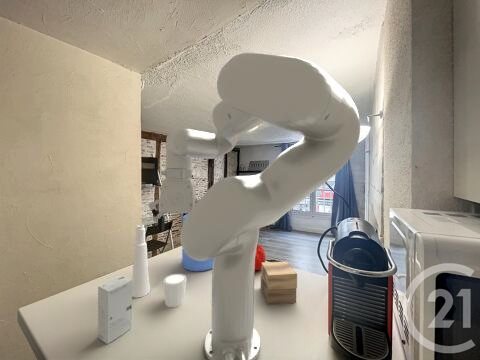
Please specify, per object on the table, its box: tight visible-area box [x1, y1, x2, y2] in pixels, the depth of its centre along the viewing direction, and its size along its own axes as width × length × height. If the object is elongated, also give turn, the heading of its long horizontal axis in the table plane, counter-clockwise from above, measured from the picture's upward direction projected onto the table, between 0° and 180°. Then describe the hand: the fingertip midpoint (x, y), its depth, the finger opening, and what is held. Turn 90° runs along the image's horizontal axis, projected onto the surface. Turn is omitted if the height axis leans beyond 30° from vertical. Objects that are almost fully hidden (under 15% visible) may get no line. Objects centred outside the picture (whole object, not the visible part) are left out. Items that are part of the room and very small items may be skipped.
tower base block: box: [260, 275, 297, 305], centre depth 66 cm, size 9×9×4 cm
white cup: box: [162, 273, 188, 308], centre depth 62 cm, size 7×7×7 cm
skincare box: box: [97, 276, 133, 345], centre depth 50 cm, size 6×4×12 cm
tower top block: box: [261, 261, 298, 290], centre depth 66 cm, size 9×9×4 cm
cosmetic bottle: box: [131, 224, 152, 299], centre depth 66 cm, size 6×6×22 cm
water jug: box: [181, 198, 215, 272], centre depth 88 cm, size 16×16×28 cm
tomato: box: [255, 244, 266, 271], centre depth 85 cm, size 11×12×9 cm
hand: (178, 230), depth 63 cm, fingers open, 9 cm apart
